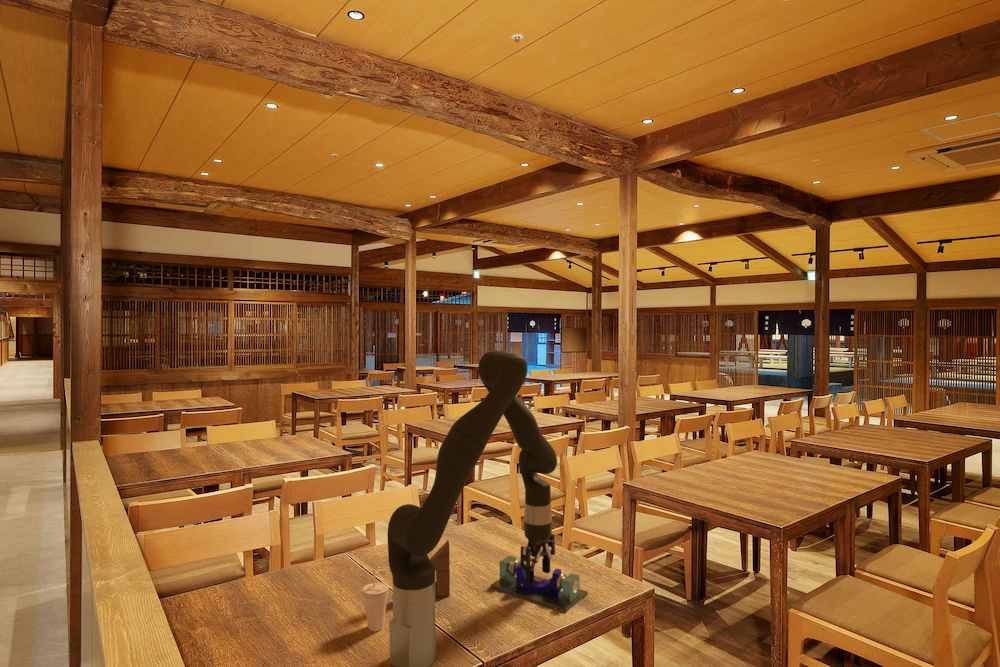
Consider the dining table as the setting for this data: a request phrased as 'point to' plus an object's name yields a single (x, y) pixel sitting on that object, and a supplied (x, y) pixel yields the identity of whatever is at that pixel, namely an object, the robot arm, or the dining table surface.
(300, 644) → the dining table surface
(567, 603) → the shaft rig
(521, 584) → the blue curved bracket
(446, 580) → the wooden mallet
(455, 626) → the dining table surface
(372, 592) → the smoothie
